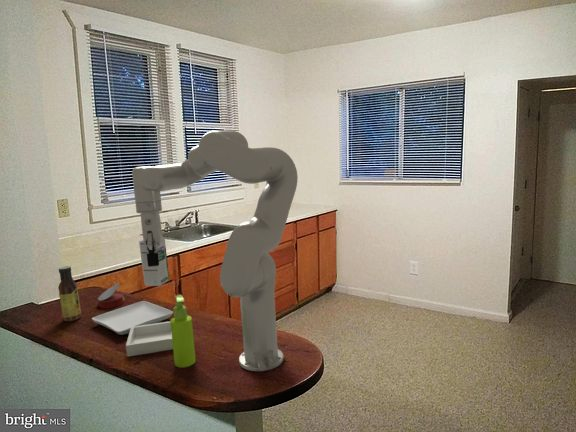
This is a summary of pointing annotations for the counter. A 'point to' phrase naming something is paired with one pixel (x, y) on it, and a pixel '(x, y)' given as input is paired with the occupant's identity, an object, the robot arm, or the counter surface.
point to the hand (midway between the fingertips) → (154, 262)
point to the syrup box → (155, 273)
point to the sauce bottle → (68, 295)
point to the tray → (149, 339)
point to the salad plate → (132, 317)
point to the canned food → (111, 298)
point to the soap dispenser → (182, 335)
